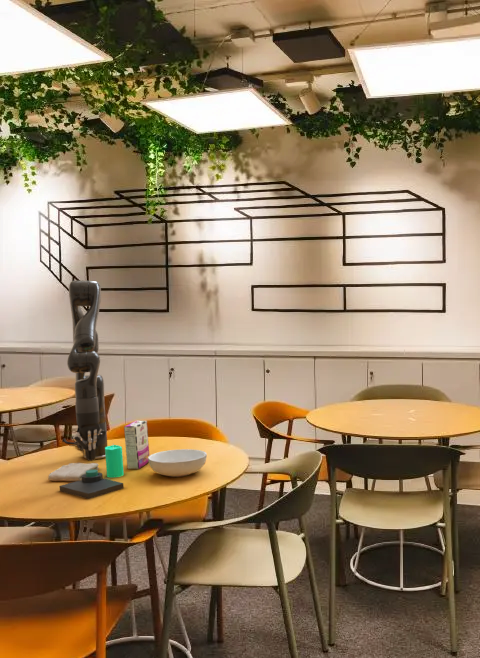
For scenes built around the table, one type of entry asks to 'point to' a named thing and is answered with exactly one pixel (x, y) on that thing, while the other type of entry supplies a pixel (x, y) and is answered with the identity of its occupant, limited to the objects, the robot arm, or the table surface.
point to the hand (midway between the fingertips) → (90, 460)
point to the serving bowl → (177, 462)
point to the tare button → (91, 473)
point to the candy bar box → (136, 444)
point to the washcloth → (72, 472)
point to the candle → (114, 461)
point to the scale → (91, 486)
